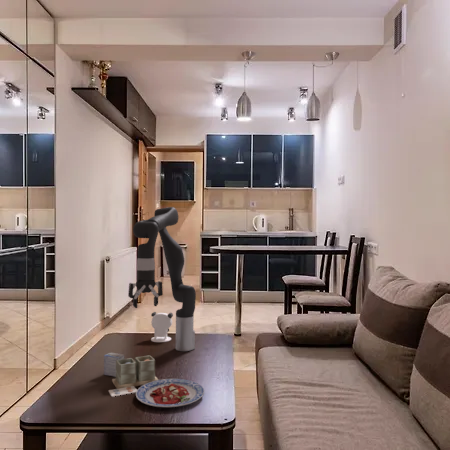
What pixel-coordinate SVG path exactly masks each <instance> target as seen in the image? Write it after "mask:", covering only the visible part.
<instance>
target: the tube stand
mask: <svg viewBox="0 0 450 450" xmlns="http://www.w3.org/2000/svg"><path fill="white" fill-rule="evenodd" d="M147 359H148V361H145V360H147ZM128 362H130V363H128ZM125 363H128V364H125ZM157 380H159V378H158V377H157V376H156V360H155V358H154V357H153V356H151V355H144V356H136V357H134V359H133V358H132V357H129V358H124V359H122V360H116V377H115V378H112V379H111V382H112V384H113V385H114V386H115V389H119V388H125V387H131V386H134V387H138V386H143V385H145V384H147V383H150V382H153V381H157Z"/></svg>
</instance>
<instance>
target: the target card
mask: <svg viewBox="0 0 450 450" xmlns="http://www.w3.org/2000/svg"><path fill="white" fill-rule="evenodd" d="M137 390H138V389H137V388H136V386H131V387H125V388H119V389H117V388H115V389H109V390H108V393H109V395H110V397H111V398H116V397H120V395H121V396H127V395H131V393H132V394H136V391H137ZM126 394H127V395H126ZM115 396H116V397H115Z"/></svg>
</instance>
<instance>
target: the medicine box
mask: <svg viewBox="0 0 450 450" xmlns="http://www.w3.org/2000/svg"><path fill="white" fill-rule="evenodd" d="M122 359H125V354H121V353H117V352H116V353H115V352H108V353H106V354H104V355H103V375H105V376H109V377H114V378H116V360H122Z"/></svg>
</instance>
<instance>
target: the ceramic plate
mask: <svg viewBox="0 0 450 450" xmlns="http://www.w3.org/2000/svg"><path fill="white" fill-rule="evenodd" d="M204 394H205V388H204V387H203V386H202V385H201V384H200V383H198V382H195V381H194V380H190V379H182V378H165V379H158V380H157V381H153V382H150V383H147V384H145V385H140V387H138V389H137V391H136V393H135V396H136V397H135V398H136V399H137V400H138V401H139V402H141V403H142V404H145V405H147V406H152V407H156V408H175V407H176V408H177V407H183V406H187V405H191V404H192V403H195V402H198V401H199V400H200V399H202V397H204ZM183 401H185V402H183ZM179 402H181V403H179ZM176 403H178V404H176Z"/></svg>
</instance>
